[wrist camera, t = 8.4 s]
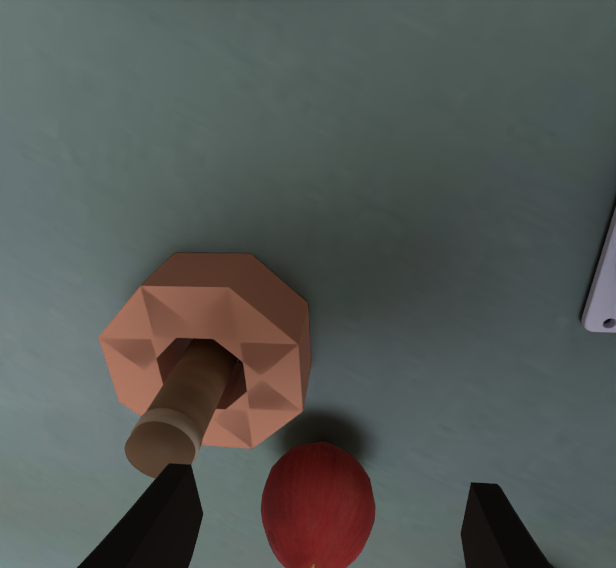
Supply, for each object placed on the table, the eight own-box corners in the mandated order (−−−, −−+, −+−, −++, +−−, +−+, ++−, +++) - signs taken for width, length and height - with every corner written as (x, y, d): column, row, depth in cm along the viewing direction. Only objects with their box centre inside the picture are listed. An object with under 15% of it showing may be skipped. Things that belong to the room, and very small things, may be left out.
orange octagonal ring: (306, 253, 19) (294, 288, 16) (313, 401, 23) (305, 452, 20) (124, 252, 20) (80, 284, 17) (161, 393, 24) (132, 440, 21)
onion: (336, 491, 26) (326, 645, 19) (259, 450, 25) (219, 595, 18) (392, 441, 24) (404, 597, 17) (308, 393, 23) (284, 537, 16)
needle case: (245, 311, 21) (184, 433, 14) (250, 351, 22) (197, 483, 15) (198, 310, 21) (115, 429, 14) (205, 349, 22) (132, 478, 15)
